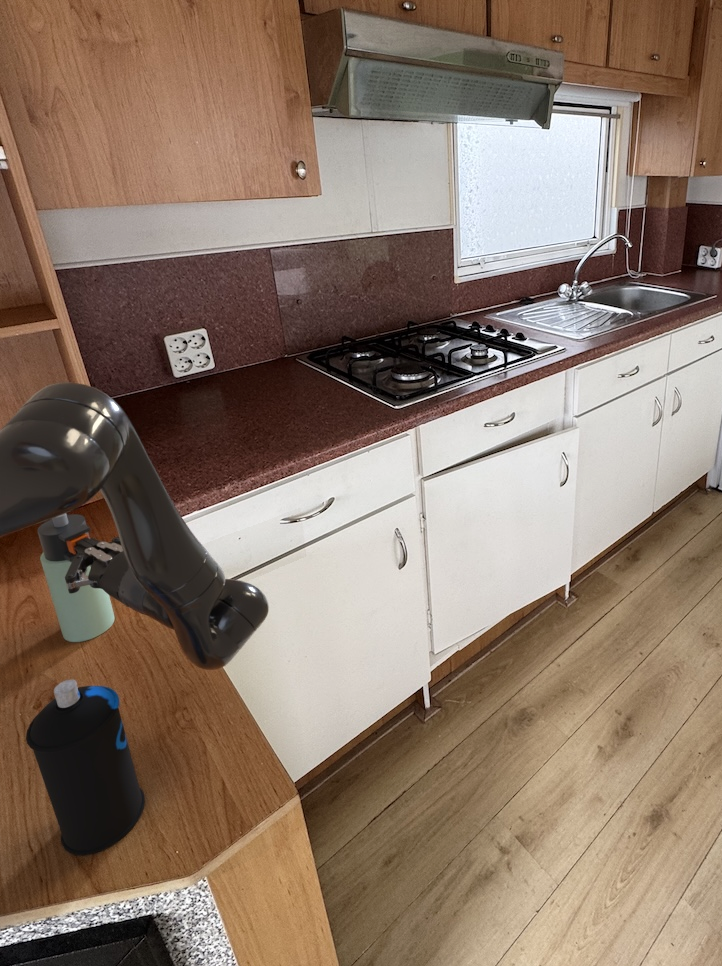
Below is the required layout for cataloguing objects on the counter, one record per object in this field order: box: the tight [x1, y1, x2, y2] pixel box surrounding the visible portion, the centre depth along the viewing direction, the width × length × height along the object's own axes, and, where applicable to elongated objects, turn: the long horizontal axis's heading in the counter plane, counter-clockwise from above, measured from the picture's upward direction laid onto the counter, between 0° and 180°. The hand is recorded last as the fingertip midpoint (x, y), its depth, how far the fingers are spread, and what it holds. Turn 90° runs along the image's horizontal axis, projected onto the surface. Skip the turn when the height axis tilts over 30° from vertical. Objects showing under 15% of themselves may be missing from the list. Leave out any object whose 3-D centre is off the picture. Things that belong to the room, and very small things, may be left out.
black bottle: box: [25, 679, 146, 856], centre depth 64 cm, size 8×8×20 cm
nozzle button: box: [66, 533, 90, 555], centre depth 89 cm, size 2×2×2 cm
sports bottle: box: [37, 513, 116, 643], centre depth 93 cm, size 8×7×22 cm
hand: (81, 544), depth 88 cm, fingers closed
